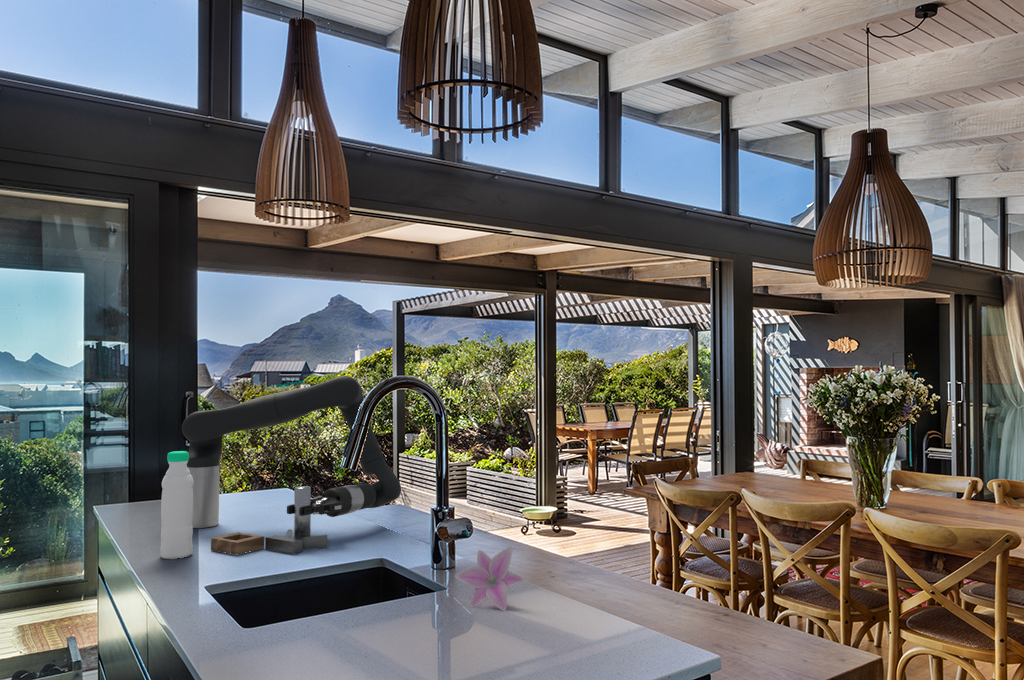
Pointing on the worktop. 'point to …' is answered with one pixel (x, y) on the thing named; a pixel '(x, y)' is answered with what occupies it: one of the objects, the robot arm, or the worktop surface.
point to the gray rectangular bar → (300, 522)
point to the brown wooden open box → (237, 543)
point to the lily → (490, 578)
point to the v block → (294, 543)
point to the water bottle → (177, 508)
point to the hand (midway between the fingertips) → (294, 510)
